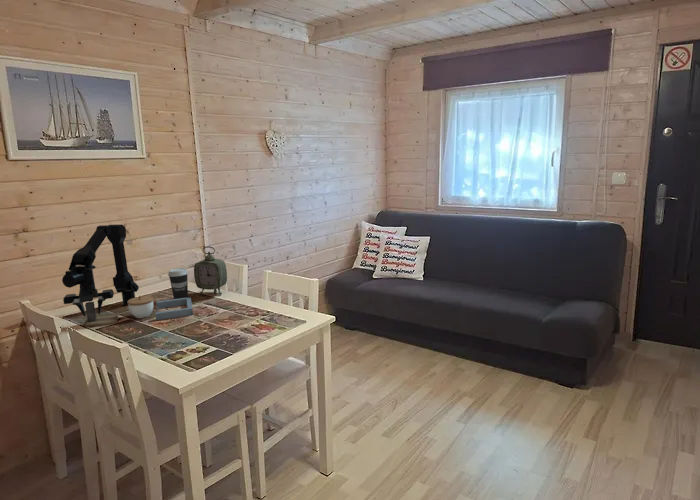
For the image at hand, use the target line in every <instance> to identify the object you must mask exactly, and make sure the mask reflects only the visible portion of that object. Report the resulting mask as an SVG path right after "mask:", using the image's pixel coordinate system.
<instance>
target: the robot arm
mask: <svg viewBox="0 0 700 500" xmlns="http://www.w3.org/2000/svg"><path fill="white" fill-rule="evenodd" d="M126 238H127V228H126V226H125V225H123V224H108V225H97V226H96V229H95V231H94V233H93V234H92V235H91V236H90V238H89V240H88V241H87V242H86V244H85V245H84V246H83V247H81V248H79V249H78V250H76V252H74V253H73V255H72V257H71V261H70V264H69V266H68V270H66V271H65V272H64V273H65V274H64V275H63V276H62V278H61V279H62V280H61V281H62V284H63V285H64V286H65V287H67V288H74V287H77V286H78V285H79V291H78V292H79V293H78V294H76V293H68V294H66V295H65V296H64V297H63V299H62V300H63V301H62V302H63V304H64V305H68V304H69V305H70V304H72V306H73V305H74V306H76V307H77V308H78V310H79V311H80V312H81V314H82V315H83V317H86V308H85V304H84V303H87V302H94V301H93V300H94V299H96V298H98V299H97V312H98V313H97V314H98V315H101V312H102V305H103V302H104V301H106V300H107V299H113V297H114V295H115V292H114V289H115V290H116V293H121V297H122V303H121V306H122V305H125V306H128V303H127V301H128V300H130V299H132V298H135V297H136V294H135V293H137V292H138V291H139V285H138V284H137V283H136V282H135V281H134V278H133V275H132V274H131V273H130V272H129V268H128V264H127V258H126V257H127V255H126V251H125V243H124V242H125V240H126ZM105 239H107V240H108V241H109V242H110V243H111V247H112V251H113V258H114V265H115V270H116V271H115V272H116V274H115V276H114V277H112V282H113V283H112V285H113V287H114V289H112V288H110V289H108V288H107V289H103V290H102V291H101V292H98V289H97V288H96V283H95V278H94V271H93V269H96V266H95V265H93V264H94V262H95V260H96V257H97V255H96V252H97V251H98V249H99V248H100V247H101V245H102V243H103V242H104V241H105Z"/></svg>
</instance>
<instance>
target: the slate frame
mask: <svg viewBox="0 0 700 500" xmlns="http://www.w3.org/2000/svg"><path fill="white" fill-rule="evenodd" d="M155 303H156V304H155V305H156V309H157V310H160V309H166V308H172V307H173V308H174V307H181V306H186V307H185V308H178V309H177V308H176V309H173V310H172V309H169V310H164V311H163V310H162V311H156V312H155V313H154V314H155V321H161V320H168V319H174V318H175V319H176V318H181V317H188V316H189V317H190V316H194V312H193V311H194V310H193V304H192V297H191V296H188V297H187V298H180V299H174V298H173V299H166V300H158V301H157V300H156V302H155Z"/></svg>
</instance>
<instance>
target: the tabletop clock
mask: <svg viewBox="0 0 700 500" xmlns="http://www.w3.org/2000/svg"><path fill="white" fill-rule="evenodd" d="M208 248H209V249H212V250H213V252H210V251H207V252H205V251H204V250H205V249H208ZM202 252H203V254H205V256H204V259H203V260H202V259H201V261H200V260H199V261H198V262H196V263H194V267H193V277H194V282H195V285H196V287H197V288H198V289H201V291H199V294H200V295H203V293H204V290H213V292H214V293H217V290H218V296H222V292H221V290H220V288H221V287H223V286H225V285H227V282H228V272H227V271H228V270H227V265H226V261H224V260H223V259H220V258H219V259H218V258H215V256H214V255H213V254H215V253H216V249H215V248H214V247H213V246H209V245H207V246H204V247H203V248H202Z"/></svg>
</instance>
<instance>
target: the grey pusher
mask: <svg viewBox="0 0 700 500" xmlns="http://www.w3.org/2000/svg"><path fill="white" fill-rule="evenodd" d="M95 307H96V306H95V301H90V302H89V301H87V302H85V304H84V309H85V315H86V319H87V320H86V323H85V325H84V328H85V329H88V328H87V327H90V328H96V327H95V326H97V327H104V326H110V324H111V325H116V324H117V323H118V320H119V317H118V316H120V314H119V312H116V313H115V312H114V313H108V314H98V315H97V314H96V313H97V312H96V308H95ZM103 325H104V326H103Z"/></svg>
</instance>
